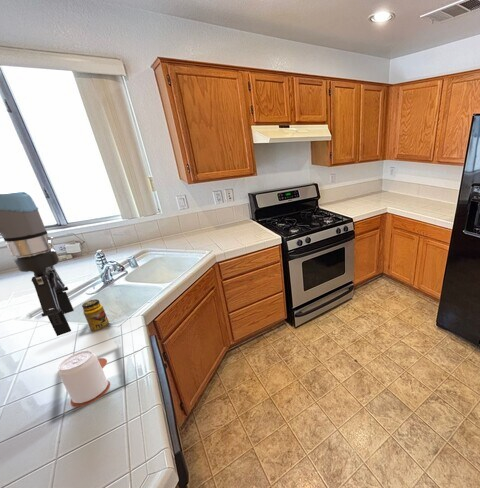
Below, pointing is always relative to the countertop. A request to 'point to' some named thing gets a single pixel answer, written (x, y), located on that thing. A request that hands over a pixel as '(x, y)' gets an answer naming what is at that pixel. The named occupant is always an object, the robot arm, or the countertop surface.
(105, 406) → the countertop surface
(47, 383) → the countertop surface
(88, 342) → the countertop surface
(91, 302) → the condiment
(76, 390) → the white upturned tub
